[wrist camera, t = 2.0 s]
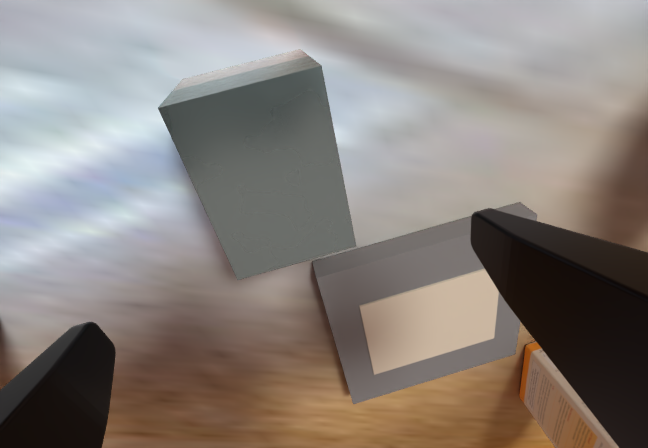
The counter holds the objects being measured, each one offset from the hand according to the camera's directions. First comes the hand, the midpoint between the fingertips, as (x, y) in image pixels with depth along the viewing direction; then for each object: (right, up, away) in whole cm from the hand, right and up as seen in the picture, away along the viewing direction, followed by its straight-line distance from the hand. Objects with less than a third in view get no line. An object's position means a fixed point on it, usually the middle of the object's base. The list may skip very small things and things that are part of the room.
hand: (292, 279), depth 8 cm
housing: (-2, +5, +8) cm, 10 cm away
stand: (+8, -4, +16) cm, 18 cm away
